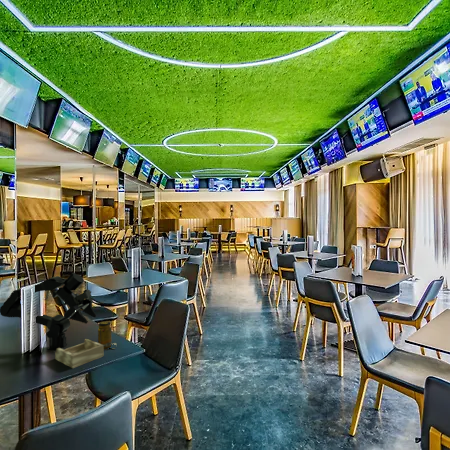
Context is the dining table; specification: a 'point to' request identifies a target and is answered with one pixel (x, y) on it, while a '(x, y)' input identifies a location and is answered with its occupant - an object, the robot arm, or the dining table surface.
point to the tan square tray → (80, 353)
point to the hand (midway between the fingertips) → (91, 319)
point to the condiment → (105, 335)
